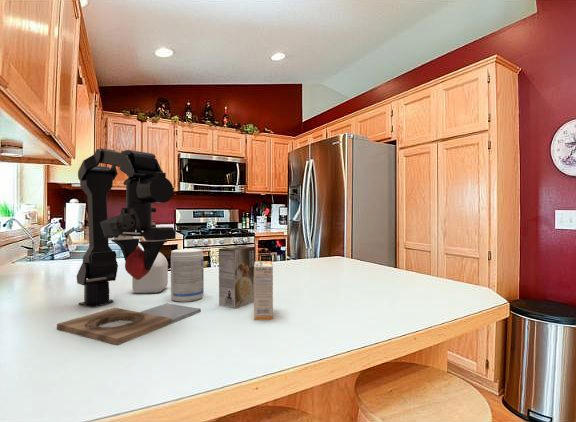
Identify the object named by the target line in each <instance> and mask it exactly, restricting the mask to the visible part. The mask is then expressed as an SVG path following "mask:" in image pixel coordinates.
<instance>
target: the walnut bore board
mask: <svg viewBox="0 0 576 422" xmlns="http://www.w3.org/2000/svg"><path fill="white" fill-rule="evenodd" d="M119 320H123V321H129V320H130V322H128V323H126V324H125V323H124V324H122V325H117V326H101V325H104V324H107V323H108V324H109V323H112V322H119ZM171 320H172V318H168V317H163V316H157V315H152V314H147V313H141V311H135V310H130V309H124V308H119V307H112V308H109V309H104V310H102V311H97V312H94V313H91V314H87V315H83V316H81V317H77V318H76V317H75V318H72V319H70V320H66V321H63V322H59V323H56V330H58V331H61V332H65V333H70V334H74V335H78V336H80V337H84V338H85V337H86V338H89V339H92V340H97V341H100V342H104V343H108V344H111V345H116V346H118V345H120V344H121V345H122V344H124V343H127V342H129V341H132V340H133V339H134V340H135V339H136V338H139V337H142V336H144V335H147V334H149V333H151V332H153V331H156V330H159V329H161V328H163V327H166V326H168V325H171V324H173V323H172V321H171Z"/></svg>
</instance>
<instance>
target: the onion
mask: <svg viewBox="0 0 576 422" xmlns="http://www.w3.org/2000/svg"><path fill="white" fill-rule="evenodd" d="M124 268H125V271H126V272H127V274H128V275H130V276H131V277H133V278H135V279H136V280H140V279H141V278H142V277H144V276H145V275H146V274H147V273H148V272H149V271H150V270H145V263H144V249H142V248H141V247H140V245H138V246H137V247H136V250H135V251H134V252H132V253H131V254H130V255H129V256H128V258H127V259H126V261H124Z"/></svg>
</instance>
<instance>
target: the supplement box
mask: <svg viewBox="0 0 576 422" xmlns="http://www.w3.org/2000/svg"><path fill="white" fill-rule="evenodd" d="M273 267H274V266H273V262H272V261H271V260H270V261H267V260H266V261H265V260H263V261H261V260H260V261H259V260H258V261H256V260H255V263H254V302H253V312H254V313H253V314H254V316H253V317H254V320H255V321H256V320H257V321H259V320H261V321H262V320H273V319H274V299H273V298H274V296H273V295H274V268H273Z"/></svg>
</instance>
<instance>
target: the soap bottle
mask: <svg viewBox="0 0 576 422" xmlns="http://www.w3.org/2000/svg"><path fill="white" fill-rule="evenodd" d="M152 225H156V223H155V222H152ZM142 238H143V239H144V240H145V238H144V237H142ZM168 269H169V262H168V260H167V258H166V256H165V255H164V254H163V253H162V252H161V251H160V252H159V253H158V255H157V257H156V259H155V261H154V263H153V265H152V267H151V269H150V271H149V272H148V273H147V274H146V275H145V276H144V277H142V278H141V279H140V280H136V279H135V278H133V277H132V276H131V277H132V281H131V283H132V284H131V285H132V291H133V292H134V293H136V294H153V293H154V294H156V293H157V294H158V293H160V292H162V291H163V290H164V289H165V288H167V286H168V284H169V283H168V282H169V281H168V280H169V278H168V277H169V274H168V273H169V272H168V271H169V270H168Z"/></svg>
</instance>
